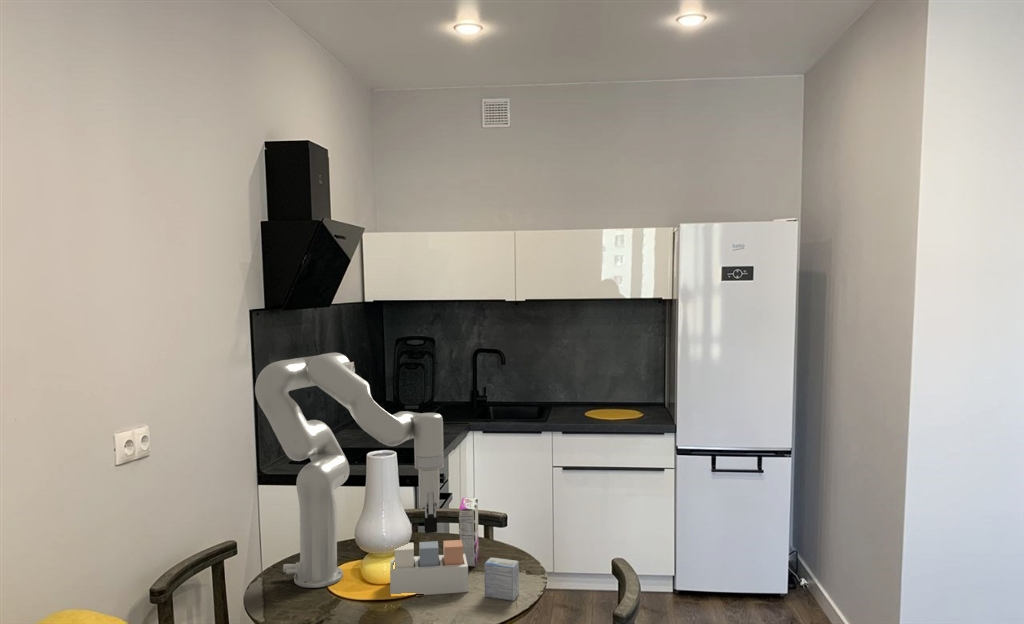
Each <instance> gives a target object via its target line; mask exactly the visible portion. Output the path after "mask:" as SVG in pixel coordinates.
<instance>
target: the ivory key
mask: <svg viewBox="0 0 1024 624" xmlns="http://www.w3.org/2000/svg"><path fill="white" fill-rule="evenodd" d="M407 543H408V544H406V545H404V546H401V547H399V548H397V549H395V548H394V558H395V568H412V567H414V557H415V551H414V549H415V547H414V545H415V544H414V542H407Z"/></svg>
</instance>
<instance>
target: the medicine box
mask: <svg viewBox="0 0 1024 624" xmlns="http://www.w3.org/2000/svg"><path fill="white" fill-rule="evenodd" d="M483 564H484V566H483V567H484V568H483V569H484V581H483V582H484V598H492V599H499V600H506V601H512V602H514V601H515V600H516V598H517V597H518V596H519V594H520V578H519V577H520V574H519V573H520V571H519V569H520V567H519V564H520V562H519V561H518V560H514V559H513V560H512V559H508V558H507V559H506V558H499V557H492V556H491V557H490V558H488V559H487V560H486V561H485V563H483Z"/></svg>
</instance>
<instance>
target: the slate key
mask: <svg viewBox="0 0 1024 624" xmlns="http://www.w3.org/2000/svg"><path fill="white" fill-rule="evenodd" d="M418 546H419V549H418V550H419V553H418V554H419V555H418V556H419V567H428V566H439V555H440V554H439V551H440V550H439V541H438V540H436V541H435V540H434V541H420V542H419V545H418Z"/></svg>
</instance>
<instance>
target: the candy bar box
mask: <svg viewBox="0 0 1024 624" xmlns="http://www.w3.org/2000/svg"><path fill="white" fill-rule="evenodd" d="M458 538H459V539H458V540H462V544H463V554H465V556H466V560H467V564H468V568H469V567H471V568H472V567H473V568H474V567H476V566H477V562H478V556H479V552H480V551H479V550H480V549H479V498H478V497H462V499H461V502H460V504H459V507H458Z"/></svg>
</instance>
